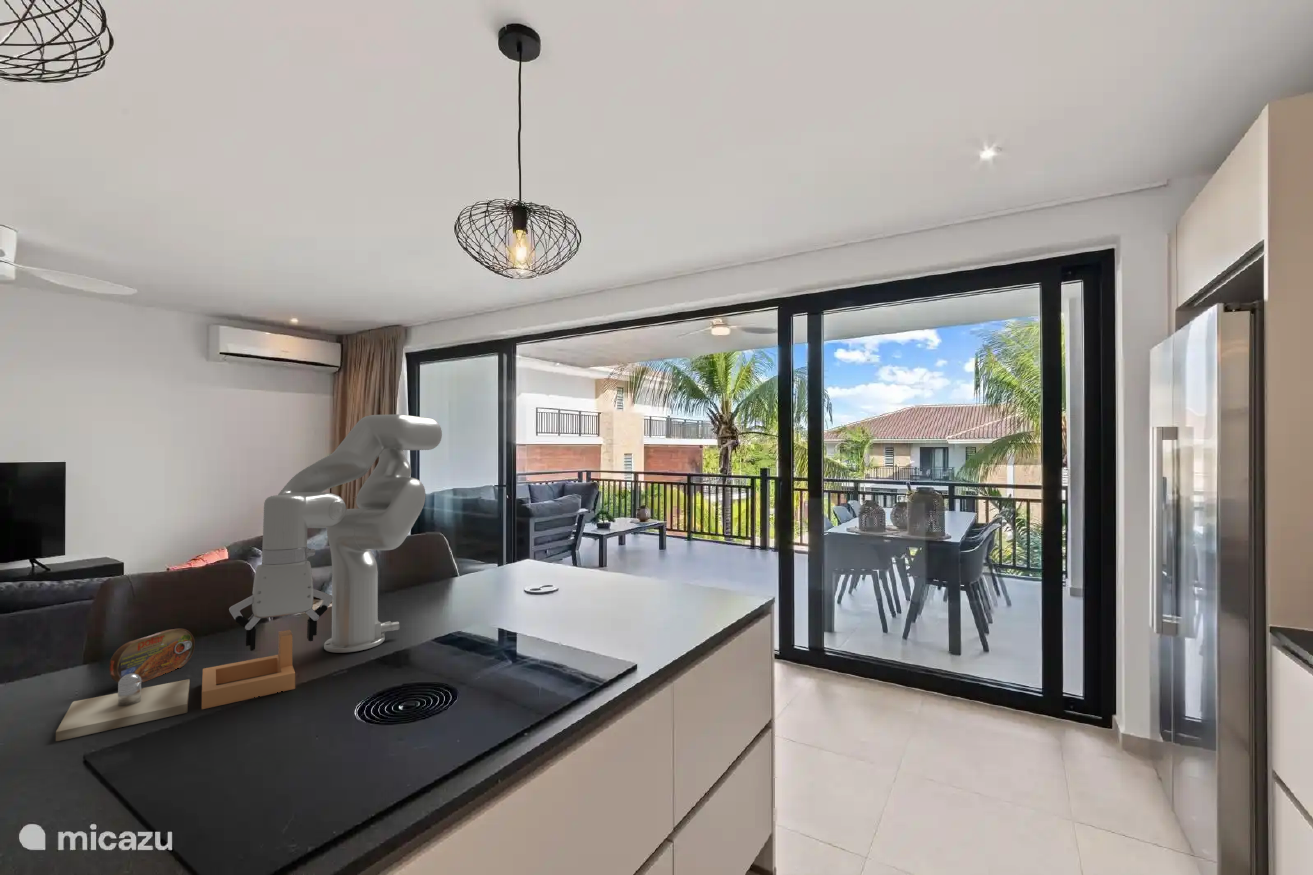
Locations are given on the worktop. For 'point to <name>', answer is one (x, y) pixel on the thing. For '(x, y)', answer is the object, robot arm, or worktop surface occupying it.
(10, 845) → the worktop surface
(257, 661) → the orange walled frame piece
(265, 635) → the worktop surface
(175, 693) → the board
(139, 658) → the tin
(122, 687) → the post
